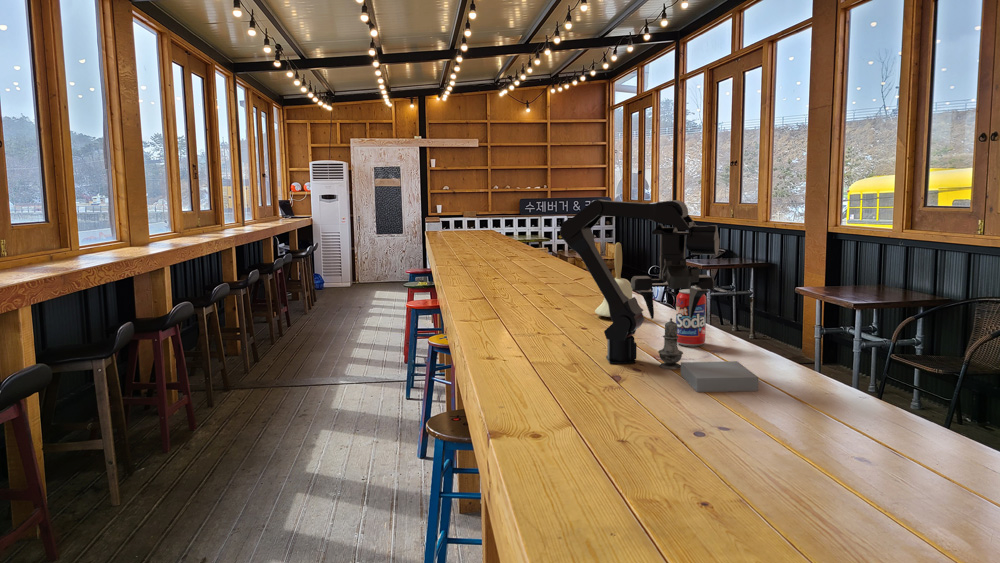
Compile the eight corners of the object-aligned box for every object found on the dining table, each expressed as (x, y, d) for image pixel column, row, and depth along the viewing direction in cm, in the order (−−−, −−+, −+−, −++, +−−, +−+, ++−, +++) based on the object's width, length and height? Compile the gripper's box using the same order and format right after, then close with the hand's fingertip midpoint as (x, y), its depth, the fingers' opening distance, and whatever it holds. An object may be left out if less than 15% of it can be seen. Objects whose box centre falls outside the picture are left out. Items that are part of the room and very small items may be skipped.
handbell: (648, 315, 226) (648, 241, 223) (631, 323, 214) (632, 245, 210) (605, 311, 235) (605, 240, 231) (587, 319, 222) (587, 243, 218)
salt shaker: (683, 370, 159) (684, 320, 158) (658, 369, 160) (658, 320, 159) (682, 363, 165) (683, 315, 163) (657, 362, 166) (658, 315, 164)
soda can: (702, 341, 188) (703, 288, 186) (707, 347, 180) (709, 292, 178) (673, 341, 189) (674, 288, 187) (678, 347, 181) (679, 292, 179)
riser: (696, 391, 142) (697, 378, 142) (680, 374, 155) (680, 362, 155) (758, 390, 142) (758, 377, 142) (736, 373, 155) (737, 361, 155)
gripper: (640, 258, 151) (639, 326, 153) (723, 256, 151) (721, 324, 153) (630, 253, 162) (630, 316, 164) (707, 251, 162) (706, 315, 164)
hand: (671, 318), depth 161 cm, fingers open, 9 cm apart
